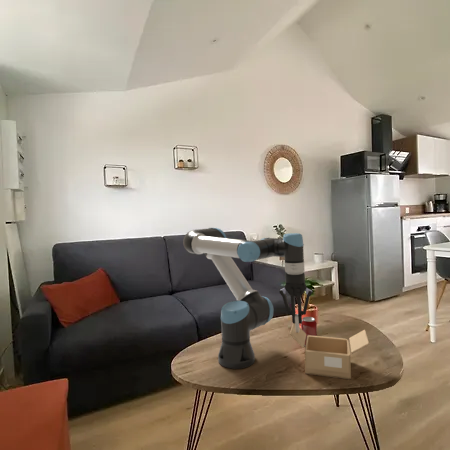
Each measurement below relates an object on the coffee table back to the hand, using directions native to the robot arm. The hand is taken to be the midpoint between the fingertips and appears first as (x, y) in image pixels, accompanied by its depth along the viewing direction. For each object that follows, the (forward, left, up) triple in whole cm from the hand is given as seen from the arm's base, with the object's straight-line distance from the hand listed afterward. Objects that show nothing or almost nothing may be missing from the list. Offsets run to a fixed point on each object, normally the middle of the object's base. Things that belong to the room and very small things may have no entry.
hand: (297, 331), depth 126 cm
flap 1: (0, 0, -1) cm, 1 cm away
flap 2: (+22, 0, -1) cm, 22 cm away
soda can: (+3, +19, -14) cm, 24 cm away
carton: (+11, 0, -13) cm, 17 cm away
